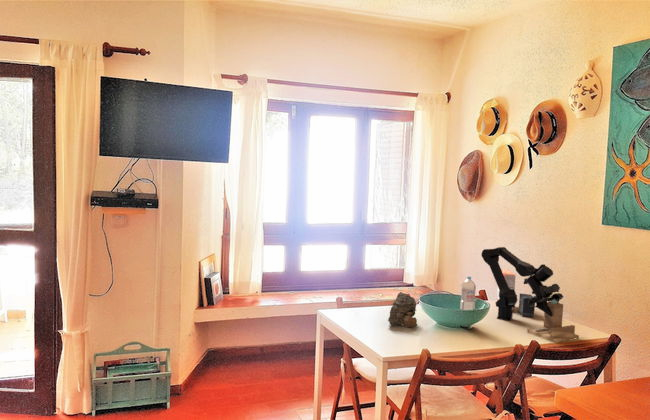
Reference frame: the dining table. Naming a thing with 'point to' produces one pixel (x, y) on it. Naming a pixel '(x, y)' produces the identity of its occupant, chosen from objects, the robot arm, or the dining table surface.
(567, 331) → the cleat board
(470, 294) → the water bottle
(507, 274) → the cracker box
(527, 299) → the small box
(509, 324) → the dining table surface
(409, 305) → the rock
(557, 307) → the wooden block
